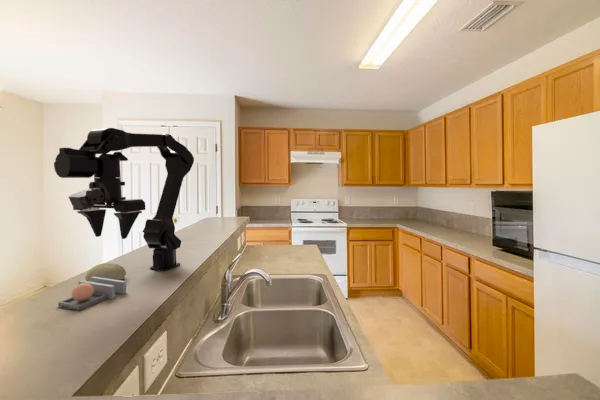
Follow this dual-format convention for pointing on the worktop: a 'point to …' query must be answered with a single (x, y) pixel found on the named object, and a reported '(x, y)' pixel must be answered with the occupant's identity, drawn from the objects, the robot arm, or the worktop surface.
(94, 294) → the coaster
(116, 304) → the worktop surface
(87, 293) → the ball
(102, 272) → the sea urchin shell
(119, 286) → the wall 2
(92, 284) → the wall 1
